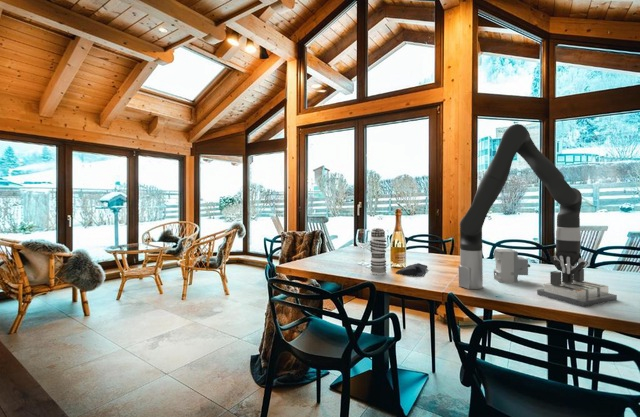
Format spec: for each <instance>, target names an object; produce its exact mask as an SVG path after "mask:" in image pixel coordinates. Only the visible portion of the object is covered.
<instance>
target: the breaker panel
mask: <svg viewBox="0 0 640 417" xmlns="http://www.w3.org/2000/svg"><path fill="white" fill-rule="evenodd" d="M536 295H538V296H541V297H546V298H549V299H552V300H557V301H560V302H564V303H568V304H570V305H575V306H578V307H582V308H586V307H587V308H588V307H591V306H595V305H600V304H606V303H609V302H614V301H618V295H617V294H614V293H610V292H609V285H605V284H601V283H595V282H591V281H586V280H585V269H584V268H583V269H582V270H581V271H580V272H579V273H574V274H573V282H572V283H565V282H564V281H563V272H562V271H561V285H553V284H550V282H548V283H544V284H543V288H541V289H537V294H536Z"/></svg>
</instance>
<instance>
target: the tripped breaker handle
mask: <svg viewBox="0 0 640 417" xmlns="http://www.w3.org/2000/svg"><path fill="white" fill-rule="evenodd" d="M549 275H550V282H549V283H550V284H553V285H561V281H562V271H558V270H556V271H555V270H553V271H550V274H549Z"/></svg>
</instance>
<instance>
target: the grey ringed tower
mask: <svg viewBox="0 0 640 417" xmlns="http://www.w3.org/2000/svg"><path fill="white" fill-rule="evenodd" d="M385 232H386V231H385V230H384V229H383V228H382V227H381V228H379V227H378V228H377V227H374V228H372V229H371V230H370V241H369V243H370V244H369V246H370V247H369V248H370V250H369V251H370V253H371V256H370V268H371V269H370V274H372V275H376V274H377V275H378V276H379V275H386V274H387V263H386V262H387V259H386V253H387V250H386V249H387V247H386V246H387V244H386V243H387V238H386V233H385ZM377 275H376V276H377Z"/></svg>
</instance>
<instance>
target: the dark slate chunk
mask: <svg viewBox="0 0 640 417" xmlns="http://www.w3.org/2000/svg"><path fill="white" fill-rule="evenodd" d="M427 269H428V265H425V264H422V263H414V264H409V265H407V266H405V267H403V268H401V269H399V270H397V271H396V272H395V274H396V275H399V274H400V275H401V276H408V277H420V278H421V277H424V275H425V273H426V272H427Z"/></svg>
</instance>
